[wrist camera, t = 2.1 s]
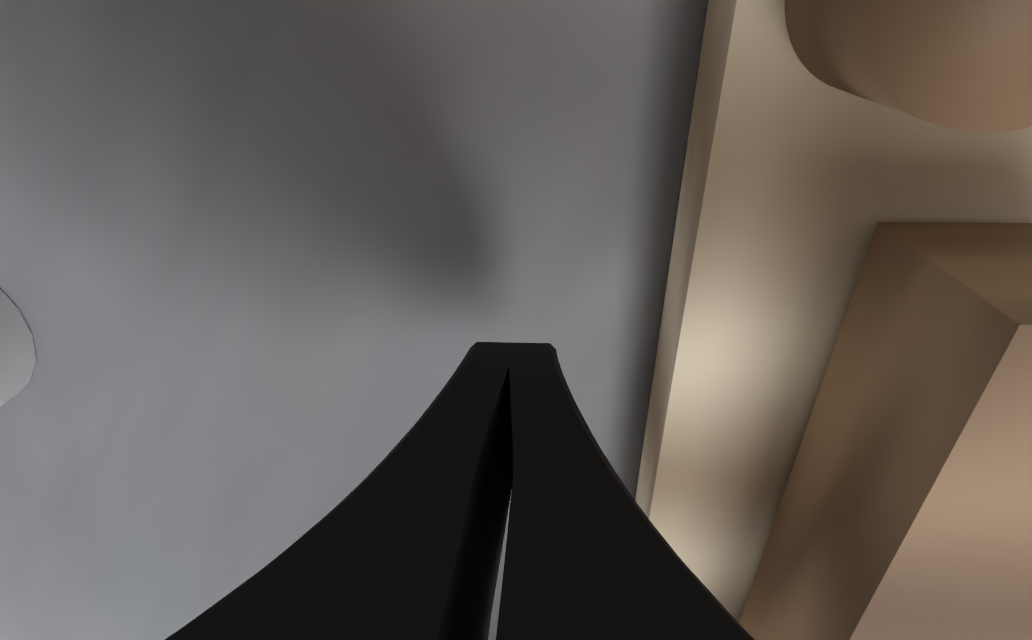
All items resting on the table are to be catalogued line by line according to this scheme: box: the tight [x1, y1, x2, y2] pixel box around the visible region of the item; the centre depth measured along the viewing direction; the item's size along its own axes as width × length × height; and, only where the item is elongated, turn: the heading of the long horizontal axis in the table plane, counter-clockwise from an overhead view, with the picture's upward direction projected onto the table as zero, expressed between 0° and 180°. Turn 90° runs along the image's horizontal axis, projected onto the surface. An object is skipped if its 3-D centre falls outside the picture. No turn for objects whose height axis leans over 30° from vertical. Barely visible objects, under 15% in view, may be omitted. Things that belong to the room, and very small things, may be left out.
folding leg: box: [739, 222, 1032, 640], centre depth 10 cm, size 12×3×3 cm, turn 1°
